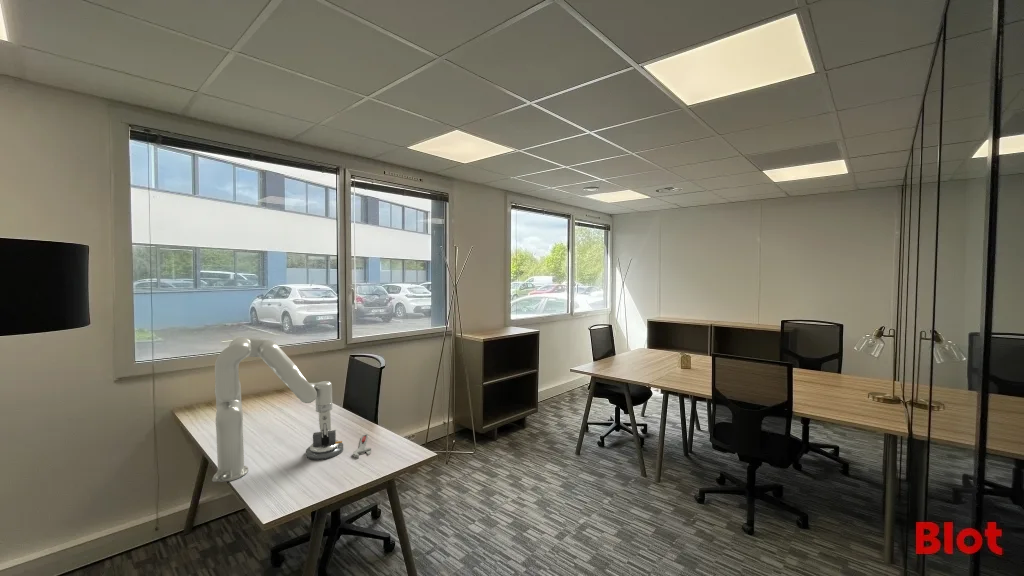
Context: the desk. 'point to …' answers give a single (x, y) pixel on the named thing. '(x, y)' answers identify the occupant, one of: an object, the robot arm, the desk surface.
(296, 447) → the desk surface
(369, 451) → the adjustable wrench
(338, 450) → the dial base
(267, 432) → the desk surface
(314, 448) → the dial
